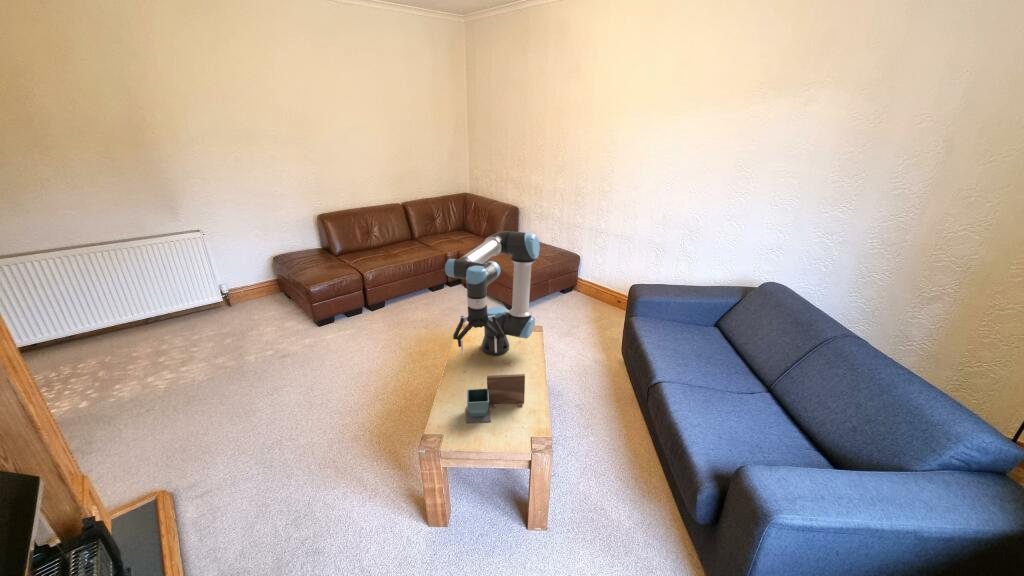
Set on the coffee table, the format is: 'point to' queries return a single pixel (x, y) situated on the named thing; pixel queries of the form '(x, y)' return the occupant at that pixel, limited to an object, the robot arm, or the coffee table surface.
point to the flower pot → (477, 402)
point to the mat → (478, 419)
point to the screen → (506, 389)
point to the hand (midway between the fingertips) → (479, 352)
